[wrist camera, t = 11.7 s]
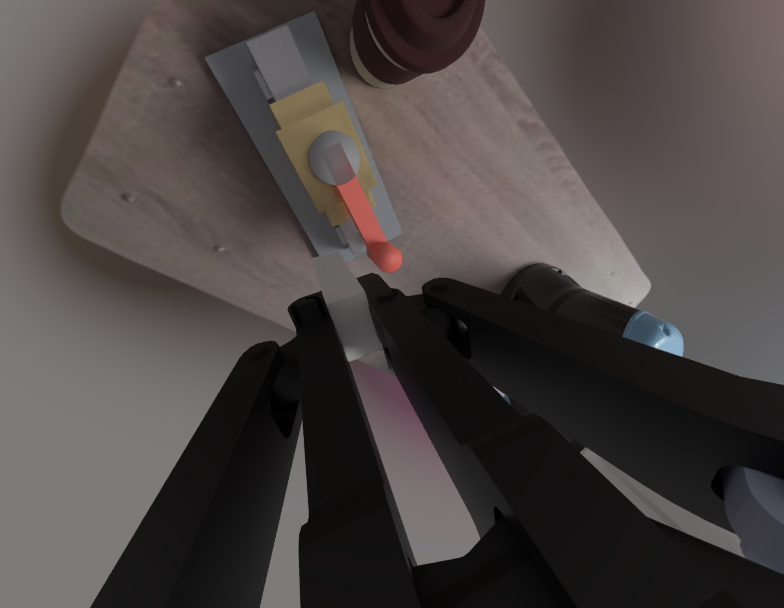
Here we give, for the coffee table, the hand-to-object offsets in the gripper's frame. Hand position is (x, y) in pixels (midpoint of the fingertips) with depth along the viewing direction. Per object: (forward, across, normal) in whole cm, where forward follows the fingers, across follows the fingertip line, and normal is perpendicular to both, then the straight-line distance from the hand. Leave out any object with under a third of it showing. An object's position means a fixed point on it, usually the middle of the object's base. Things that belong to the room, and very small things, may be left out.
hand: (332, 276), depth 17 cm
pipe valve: (+24, +4, +6) cm, 25 cm away
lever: (+16, +5, +1) cm, 17 cm away
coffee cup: (+25, +14, +15) cm, 32 cm away
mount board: (+24, +4, +6) cm, 25 cm away
